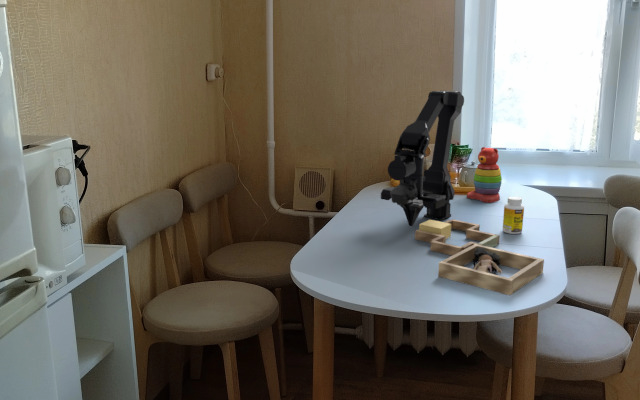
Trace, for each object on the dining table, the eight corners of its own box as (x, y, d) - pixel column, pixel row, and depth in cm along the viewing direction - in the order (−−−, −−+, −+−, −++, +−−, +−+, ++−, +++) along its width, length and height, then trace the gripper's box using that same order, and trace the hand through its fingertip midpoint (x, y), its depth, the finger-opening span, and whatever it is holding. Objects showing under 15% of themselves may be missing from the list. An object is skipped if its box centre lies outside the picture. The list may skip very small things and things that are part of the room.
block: (418, 237, 193) (419, 224, 192) (429, 232, 198) (429, 219, 197) (440, 242, 189) (441, 228, 188) (450, 237, 193) (451, 223, 192)
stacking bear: (464, 197, 237) (466, 147, 232) (483, 193, 243) (486, 144, 238) (488, 203, 228) (491, 151, 224) (507, 199, 234) (511, 148, 230)
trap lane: (404, 244, 187) (404, 235, 186) (445, 225, 203) (445, 217, 203) (469, 259, 174) (470, 250, 174) (507, 239, 191) (508, 230, 190)
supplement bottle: (513, 235, 194) (515, 201, 191) (498, 231, 198) (500, 197, 196) (526, 232, 197) (529, 198, 194) (511, 228, 201) (513, 194, 199)
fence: (438, 276, 163) (438, 262, 162) (474, 256, 177) (475, 243, 176) (510, 295, 151) (511, 280, 151) (542, 272, 165) (544, 259, 164)
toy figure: (503, 288, 157) (500, 263, 171) (501, 263, 155) (499, 240, 169) (471, 289, 159) (471, 264, 173) (469, 264, 157) (469, 241, 171)
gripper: (370, 174, 194) (369, 226, 198) (426, 183, 182) (424, 238, 186) (392, 167, 202) (390, 218, 206) (447, 176, 190) (444, 229, 194)
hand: (411, 226), depth 198 cm, fingers closed
